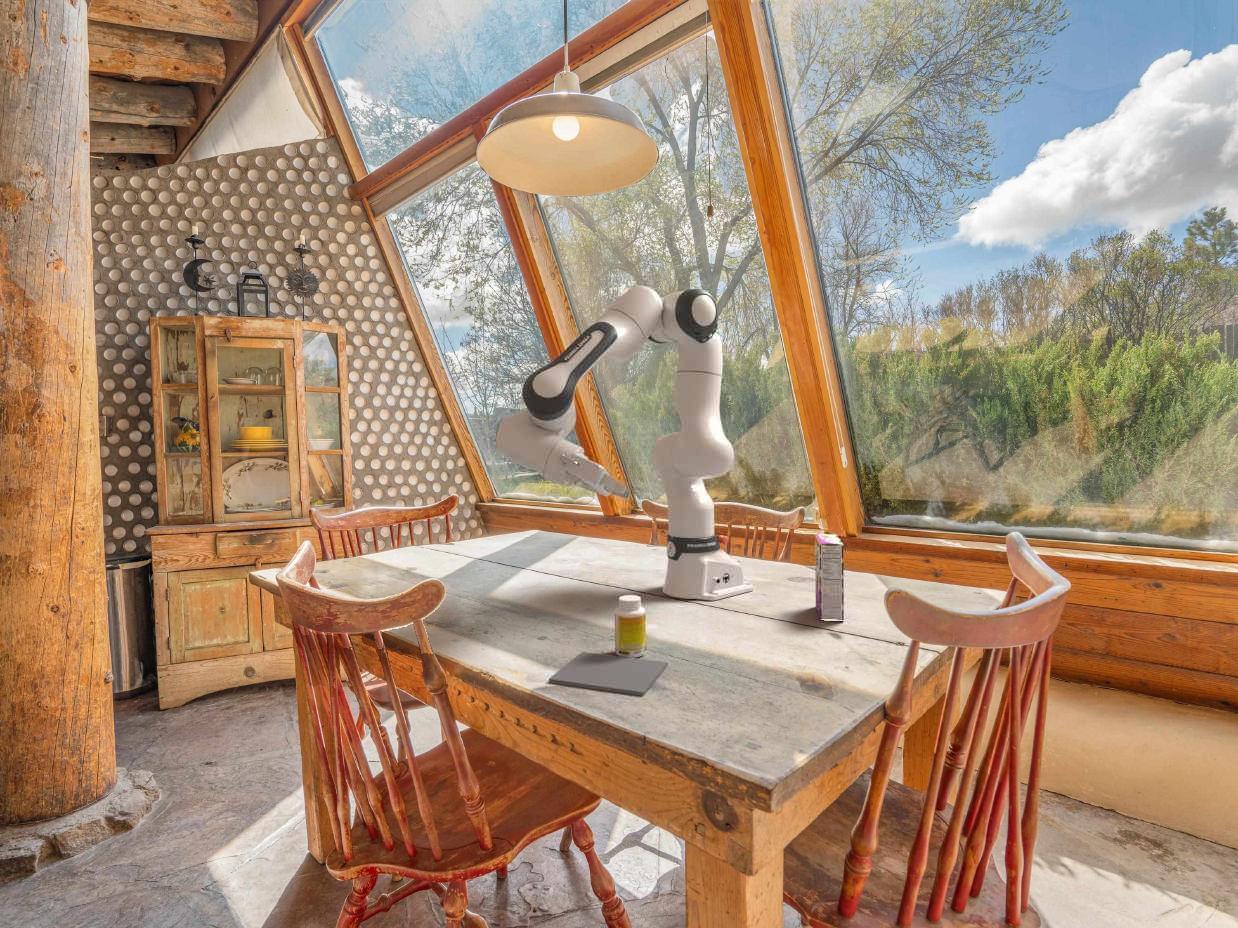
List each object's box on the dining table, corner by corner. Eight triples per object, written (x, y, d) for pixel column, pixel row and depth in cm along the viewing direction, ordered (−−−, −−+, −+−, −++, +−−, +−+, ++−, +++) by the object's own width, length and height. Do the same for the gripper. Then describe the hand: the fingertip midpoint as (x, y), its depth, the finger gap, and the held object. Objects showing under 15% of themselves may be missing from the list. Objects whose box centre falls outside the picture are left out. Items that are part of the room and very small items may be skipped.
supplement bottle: (651, 655, 116) (650, 599, 115) (623, 661, 113) (622, 603, 112) (637, 646, 121) (636, 592, 120) (610, 651, 118) (609, 596, 117)
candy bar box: (813, 606, 145) (814, 533, 144) (837, 607, 144) (837, 534, 143) (819, 621, 134) (819, 542, 133) (844, 622, 133) (844, 543, 132)
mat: (582, 654, 116) (582, 651, 116) (667, 665, 111) (667, 662, 111) (549, 682, 104) (548, 678, 104) (643, 695, 99) (643, 691, 99)
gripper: (564, 439, 123) (629, 470, 120) (581, 459, 143) (637, 486, 140) (549, 469, 122) (614, 501, 120) (568, 485, 142) (624, 512, 140)
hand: (627, 493), depth 130 cm, fingers open, 8 cm apart
